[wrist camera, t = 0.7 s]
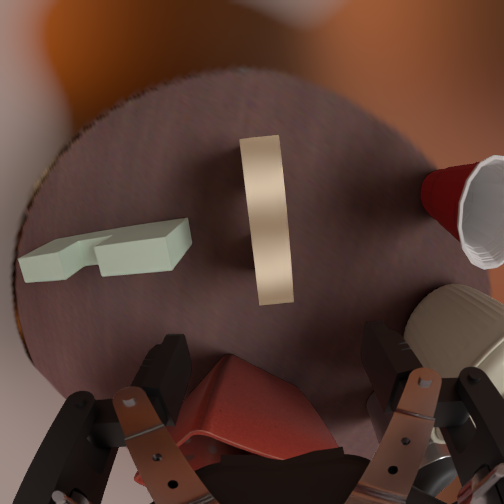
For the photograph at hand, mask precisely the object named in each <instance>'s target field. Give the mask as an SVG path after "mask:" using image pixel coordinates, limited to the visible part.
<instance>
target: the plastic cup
mask: <svg viewBox="0 0 504 504" xmlns="http://www.w3.org/2000/svg"><path fill="white" fill-rule="evenodd" d="M421 201H422V204H423V207H424V208H425V210H426V211H427V212H428V213H429V215H430V216H432V217H433V218H434V219H435V220H437V221H438V222H439V223H440V225H442V226H443V227H444V228H445V229H446V230H447V231H448V232H450V233H451V234H452V235H453V236H454V237H455V238H456V239H457V240H458V241H459V242H460V243H461V247H462V249H463V251H464V252H465V254H466V255H467V257H468V258H469V260H470V262H471V263H472V264H474V265H476V266H478V267H480V268H482V269H484V270H485V269H491V268H496V267H499V266H500V265H502V264H503V263H504V156H497V155H493V156H490V157H489V158H487V159H485V160H483V161H481V162H476V163H474V164H467V165H460V166H454V167H448V168H446V169H439V170H436V171H434V172H432V173H430V174H428V175H427V177H426V178H425V179H424V181H423V183H422V187H421Z"/></svg>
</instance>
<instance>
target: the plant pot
mask: <svg viewBox="0 0 504 504" xmlns="http://www.w3.org/2000/svg"><path fill="white" fill-rule="evenodd" d="M166 429H167V430H168V432H169V434H170V435H171V437H172V439H173V440H174V442H175V443H176V445H177V447H178V448H179V450H180V451H181V453H182V454H183V456H184V457H185V459H186V460H187V462H188V463H189V465H190V466H191V467H192V469H193V470H194V471H196V470H198V469H200V468H202V467H204V466H207V465H210V464H214V463H218V462H220V460H221V455H254V456H259V457H265V458H271V459H278V460H285V459H289V458H292V457H296V456H299V455H302V454H305V453H308V452H312V451H317V450H324V449H331V448H338V445H337V443H336V441H335V440H334V438H333V436H332V434H331V433H330V431H329V430H328V428H327V426H326V425H325V423H324V422H323V420H322V419H321V417H320V416H319V414H318V413H317V411H316V410H315V409H314V407H313V406H312V405H311V403H310V402H309V401H308V399H307V398H306V397H305V396H304V394H303V393H302V392H301V391H300V390H299V388H298V387H296V386H294V385H292V384H290V383H288V382H286V381H284V380H282V379H280V378H278V377H276V376H274V375H272V374H270V373H267V372H265V371H264V370H262V369H260V368H258V367H256V366H254V365H252V364H250V363H248V362H246V361H244V360H242V359H240V358H239V357H237V356H235V355H232V354H227V355H225V356H223V357H222V358H221V359H220V361H219V362H218V363H217V364H216V365H215V366H214V368H213V369H212V370H211V371H210V372H209V373H208V374H207V375H206V377H205V378H204V379H203V380H202V381H201V382H200V383H199V384H198V386H197V387H196V388H195V389H194V390H193V391H192V392H191V393H190V395H189V396H188V397H187V398H186V399H185V400H184V402H183V403H182V405H181V409H180V412H179V415H178V419H177V422H176V426H175V427H173V426H166ZM134 480H135V481H136V482H137V483H139V484H141V485H143V486H145V484H144V482H143V480H142V478H141V476H140V474H139V472H138V471H137V473H136V475H135V477H134ZM145 487H146V486H145Z"/></svg>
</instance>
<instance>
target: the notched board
mask: <svg viewBox="0 0 504 504" xmlns="http://www.w3.org/2000/svg"><path fill="white" fill-rule="evenodd" d="M191 245H192V239H191V233H190V227H189V221H188V218H181V219H174V220H167V221H160V222H154V223H147V224H140V225H134V226H128V227H122V228H116V229H110V230H104V231H98V232H92V233H87V234H81V235H76V236H70V237H65V238H60V239H55V240H53V241H51V242H49V243H47V244H45V245H43V246H41V247H39V248H37V249H35V250H33V251H32V252H30V253H28V254H26V255H24V256H22V257H20V258H19V259H18V261H19V264H20V268H21V271H22V274H23V277H24V280H25V283H29V282H42V281H55V280H66V279H67V278H69V277H70V276H72V275H73V274H74V273H76V272H77V271H78V270H80V269H81V268H83V267H84V266H89V265H98V264H99V268H100V272H101V275H102V277H103V276H115V275H127V274H138V273H149V272H160V271H171V270H173V269H174V267H175V266H176V265H177V263H178V262H179V261H180V259H181V258H182V257H183V255H184V254H185V253H186V251H187V250H188V249H189V247H190V246H191Z"/></svg>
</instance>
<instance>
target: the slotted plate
mask: <svg viewBox="0 0 504 504" xmlns="http://www.w3.org/2000/svg"><path fill="white" fill-rule="evenodd" d="M239 140H240V148H241V157H242V165H243V173H244V181H245V189H246V198H247V206H248V214H249V222H250V230H251V239H252V247H253V255H254V263H255V272H256V280H257V288H258V296H259V305H268V304H278V303H288V302H294V299H293V284H292V269H291V256H290V243H289V231H288V219H287V208H286V198H285V188H284V178H283V168H282V159H281V150H280V142H279V135H274V136H264V137H255V138H246V139H239Z"/></svg>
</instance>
